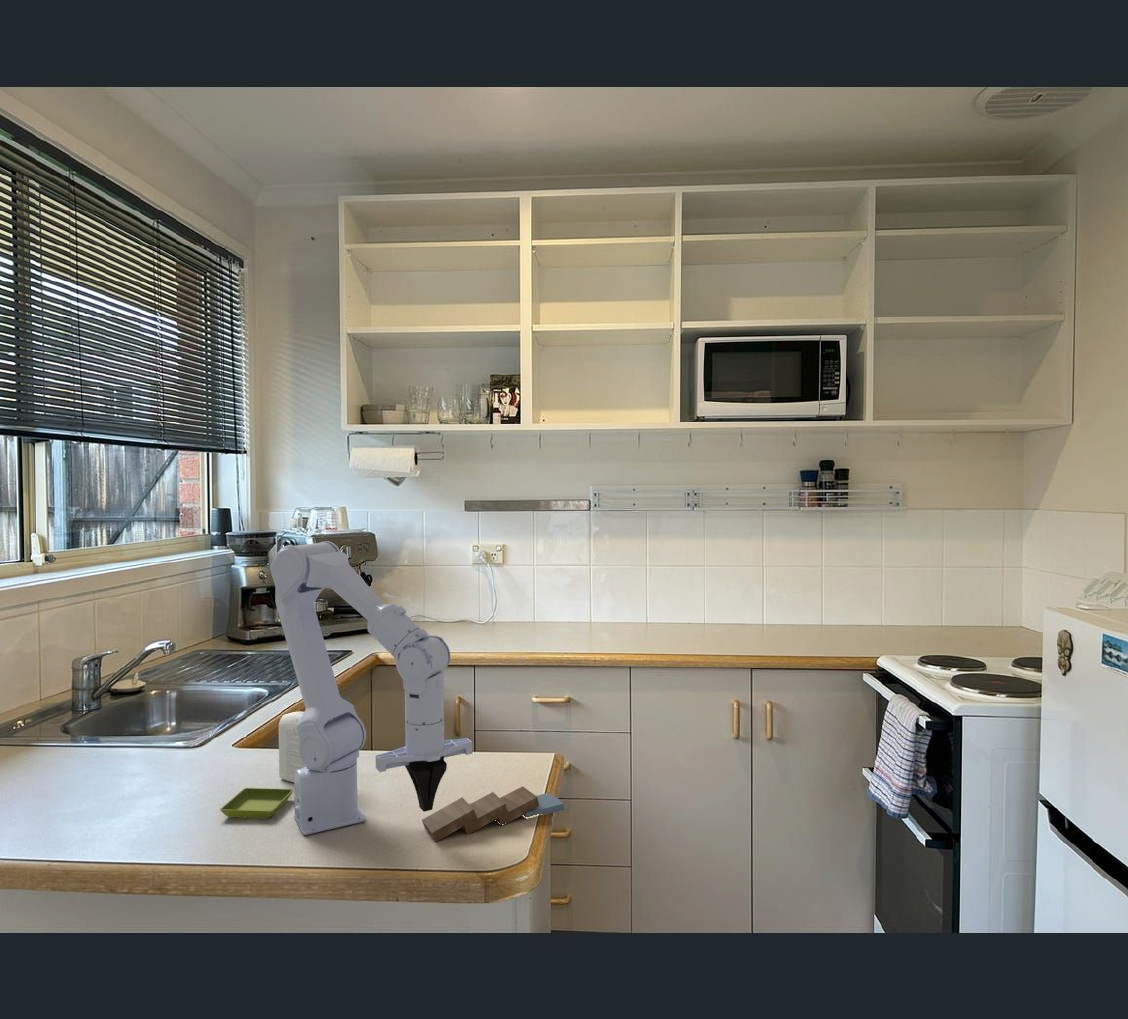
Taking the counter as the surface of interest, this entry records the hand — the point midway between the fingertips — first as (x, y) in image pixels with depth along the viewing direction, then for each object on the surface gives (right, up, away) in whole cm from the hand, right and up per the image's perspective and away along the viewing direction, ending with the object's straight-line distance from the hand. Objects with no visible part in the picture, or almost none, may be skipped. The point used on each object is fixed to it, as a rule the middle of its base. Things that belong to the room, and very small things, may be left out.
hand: (425, 808), depth 114 cm
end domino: (+13, -4, +8) cm, 16 cm away
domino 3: (+10, -3, +6) cm, 12 cm away
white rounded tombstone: (-26, -4, +22) cm, 34 cm away
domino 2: (+5, -4, +3) cm, 7 cm away
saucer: (-29, -5, +10) cm, 32 cm away
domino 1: (0, -4, +1) cm, 4 cm away
